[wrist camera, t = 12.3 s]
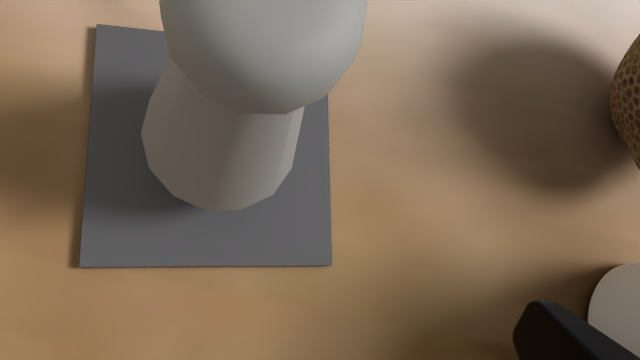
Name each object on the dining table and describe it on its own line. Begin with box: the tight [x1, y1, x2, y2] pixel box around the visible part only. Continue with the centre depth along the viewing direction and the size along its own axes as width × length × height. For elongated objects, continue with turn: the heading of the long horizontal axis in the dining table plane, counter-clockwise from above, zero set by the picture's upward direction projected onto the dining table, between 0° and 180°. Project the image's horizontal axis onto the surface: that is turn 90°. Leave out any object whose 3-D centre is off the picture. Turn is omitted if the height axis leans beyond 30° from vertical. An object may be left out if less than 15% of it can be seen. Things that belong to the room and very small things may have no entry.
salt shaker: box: [141, 0, 367, 211], centre depth 16 cm, size 6×6×13 cm
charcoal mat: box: [79, 24, 332, 267], centre depth 23 cm, size 10×10×1 cm
